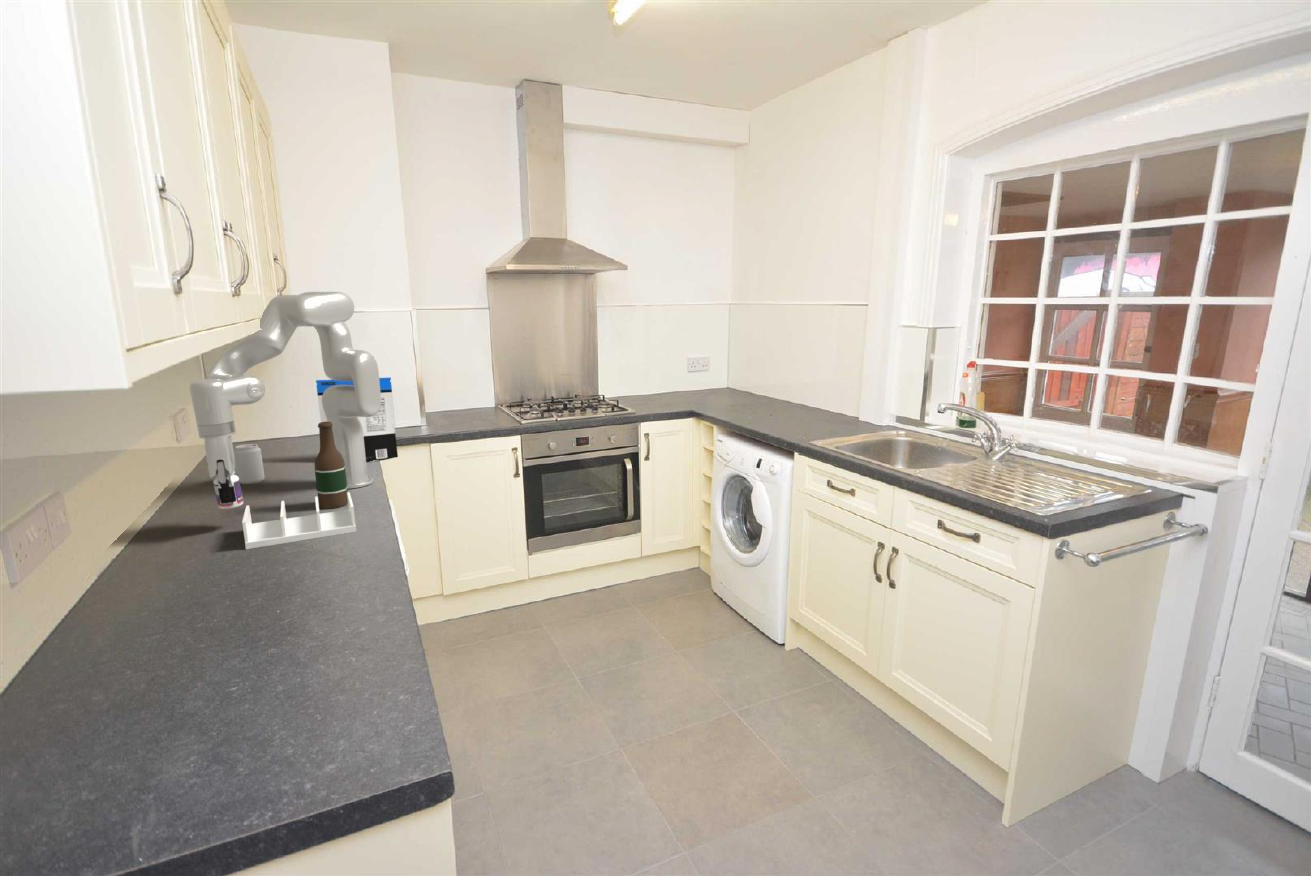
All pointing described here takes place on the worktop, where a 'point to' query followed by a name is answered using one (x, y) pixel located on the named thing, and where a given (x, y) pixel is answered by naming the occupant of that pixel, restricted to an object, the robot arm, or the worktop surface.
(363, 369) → the robot arm
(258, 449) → the can
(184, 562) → the worktop surface
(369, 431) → the protein powder
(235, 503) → the pill bottle
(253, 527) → the shelf rack
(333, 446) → the beer bottle
